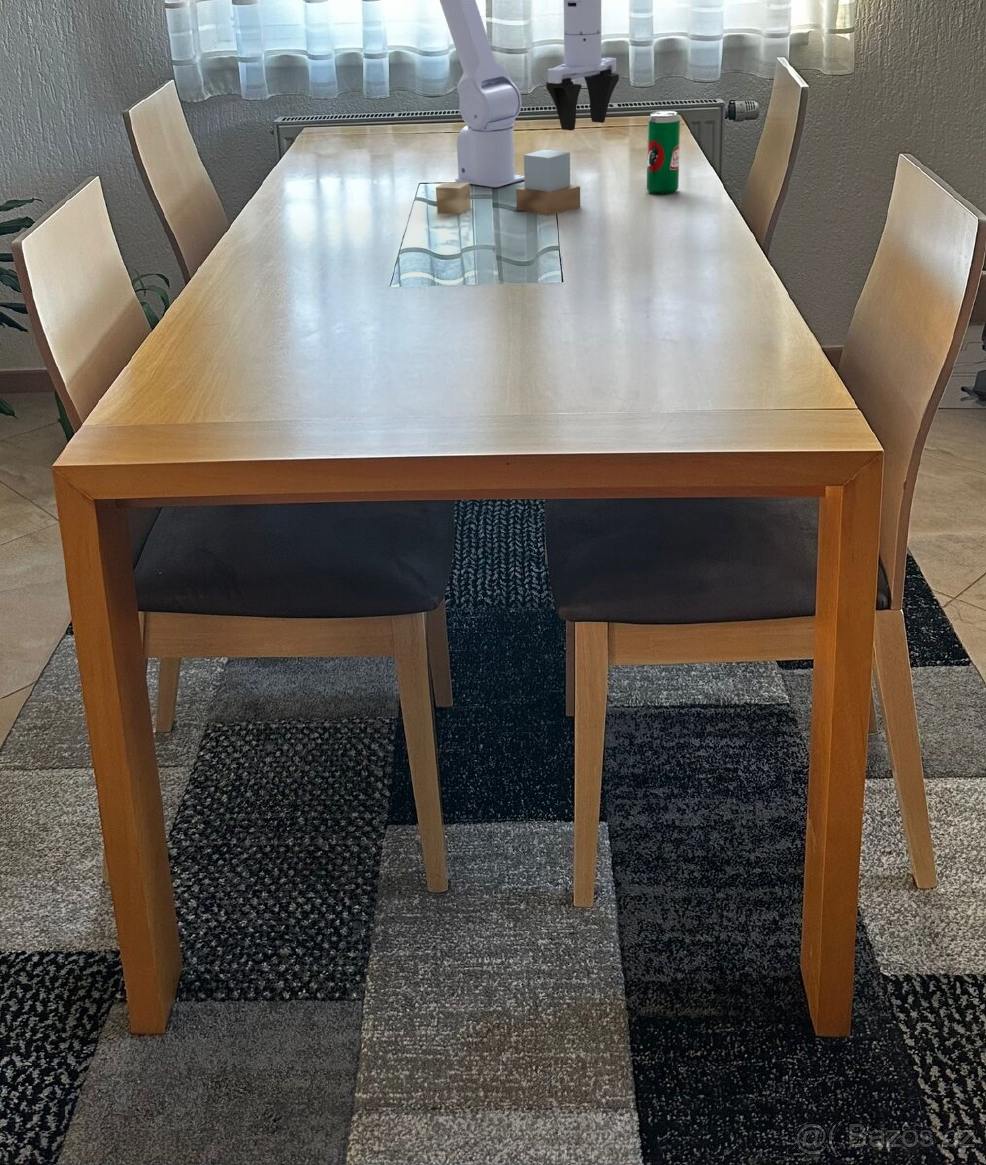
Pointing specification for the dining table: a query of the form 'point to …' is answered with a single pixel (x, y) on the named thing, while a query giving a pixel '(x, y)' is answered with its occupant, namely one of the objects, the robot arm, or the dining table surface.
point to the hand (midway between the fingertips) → (583, 125)
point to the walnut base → (548, 200)
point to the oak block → (453, 197)
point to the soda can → (663, 152)
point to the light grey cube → (547, 170)
